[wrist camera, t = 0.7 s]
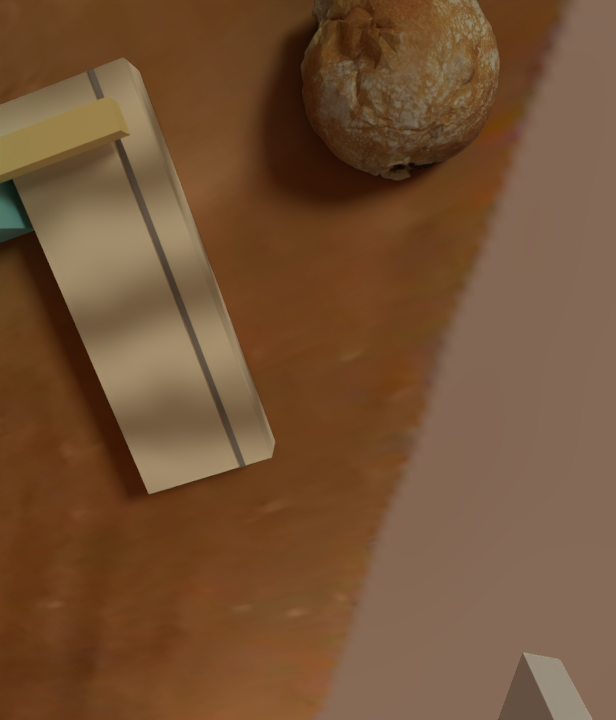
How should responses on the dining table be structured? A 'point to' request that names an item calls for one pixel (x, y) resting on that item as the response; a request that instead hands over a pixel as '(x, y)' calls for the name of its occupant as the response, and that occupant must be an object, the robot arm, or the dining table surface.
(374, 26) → the bread roll
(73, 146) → the teal boxy piece
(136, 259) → the plank
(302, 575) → the dining table surface
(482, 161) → the dining table surface
